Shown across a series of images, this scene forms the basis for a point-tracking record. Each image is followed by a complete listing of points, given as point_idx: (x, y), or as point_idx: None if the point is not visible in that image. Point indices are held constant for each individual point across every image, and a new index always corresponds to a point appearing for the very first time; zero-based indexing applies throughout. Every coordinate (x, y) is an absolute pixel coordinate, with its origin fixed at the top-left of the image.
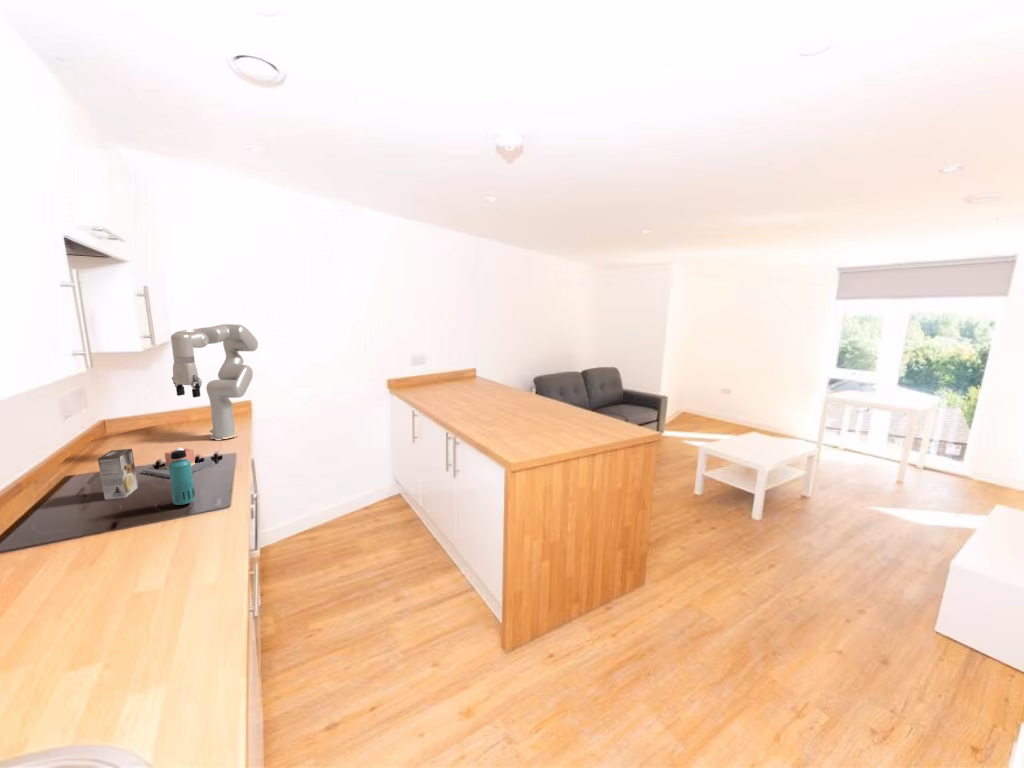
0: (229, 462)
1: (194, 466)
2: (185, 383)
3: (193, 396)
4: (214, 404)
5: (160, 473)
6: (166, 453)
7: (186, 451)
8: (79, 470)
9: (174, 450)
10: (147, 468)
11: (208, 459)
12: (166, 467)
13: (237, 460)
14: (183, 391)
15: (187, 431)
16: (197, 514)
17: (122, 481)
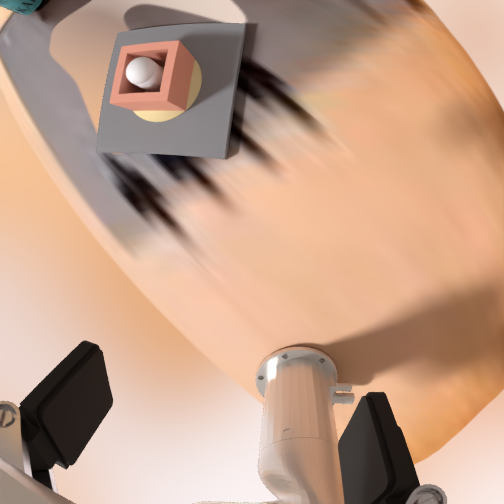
0: (82, 173)
1: None
2: (5, 498)
3: (81, 346)
4: (301, 464)
5: (168, 26)
6: (170, 41)
7: (116, 79)
8: (441, 40)
9: (165, 69)
10: (241, 33)
11: (124, 151)
12: None
13: (76, 193)
14: (345, 467)
15: (438, 384)
16: None
17: None
